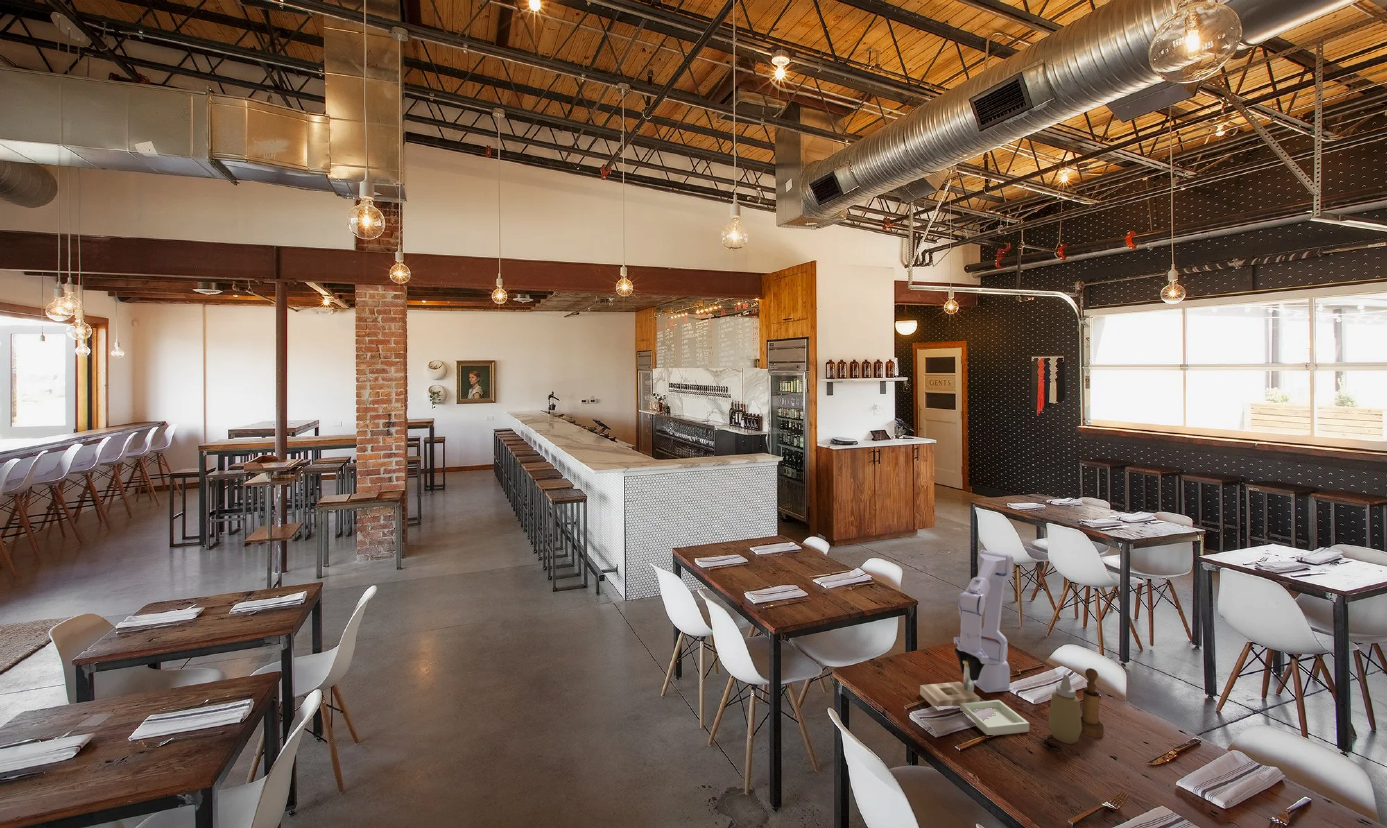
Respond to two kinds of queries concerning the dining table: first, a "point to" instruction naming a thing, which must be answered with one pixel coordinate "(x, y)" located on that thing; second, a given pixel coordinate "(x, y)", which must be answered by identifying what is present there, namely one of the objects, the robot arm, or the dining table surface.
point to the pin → (967, 677)
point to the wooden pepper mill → (1091, 707)
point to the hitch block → (947, 694)
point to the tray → (996, 718)
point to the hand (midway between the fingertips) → (969, 676)
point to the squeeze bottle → (1065, 713)
